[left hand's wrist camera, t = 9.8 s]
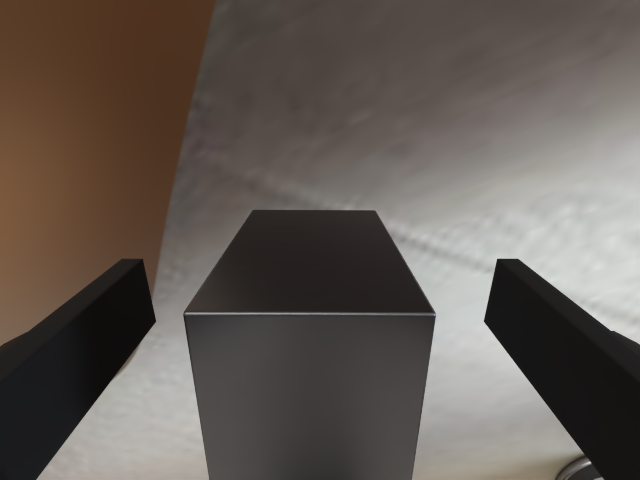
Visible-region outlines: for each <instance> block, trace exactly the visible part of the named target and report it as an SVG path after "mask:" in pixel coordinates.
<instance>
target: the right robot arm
mask: <svg viewBox="0 0 640 480" xmlns="http://www.w3.org/2000/svg"><path fill="white" fill-rule="evenodd" d="M557 480H604V479H603V478H602V476H601V475H600V474H599V473H598V471H597V470H596V469H595V467H594V466H593V465H592V463H591V462H590V461H589V459H588V458H587V457H584V458H581V459H579V460H577V461H575V462H574V463H572V464H570V465H569V466H568V467H567V468H565V469H564V470H563V471H562V472H561V474H560V475H559V476H558V478H557Z"/></svg>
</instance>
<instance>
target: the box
mask: <svg viewBox="0 0 640 480" xmlns="http://www.w3.org/2000/svg"><path fill="white" fill-rule="evenodd" d="M183 316H184V322H185V328H186V335H187V341H188V347H189V354H190V360H191V366H192V373H193V379H194V385H195V392H196V398H197V404H198V410H199V417H200V423H201V429H202V436H203V442H204V448H205V455H206V461H207V467H208V474H209V480H412V474H413V467H414V460H415V454H416V447H417V440H418V433H419V426H420V420H421V413H422V406H423V399H424V392H425V386H426V379H427V372H428V365H429V359H430V352H431V345H432V338H433V331H434V325H435V318H436V313H435V311H434V310H433V308H432V306H431V304H430V303H429V301H428V299H427V298H426V296H425V294H424V293H423V291H422V289H421V287H420V286H419V284H418V282H417V281H416V279H415V277H414V276H413V274H412V272H411V270H410V269H409V267H408V265H407V264H406V262H405V260H404V259H403V257H402V255H401V253H400V252H399V250H398V248H397V247H396V245H395V243H394V241H393V240H392V238H391V236H390V235H389V233H388V231H387V230H386V228H385V226H384V224H383V223H382V221H381V219H380V218H379V216H378V214H377V213H376V211H367V210H253V211H252V212H251V214H250V215H249V217H248V218H247V220H246V221H245V223H244V224H243V225H242V227H241V228H240V230H239V231H238V233H237V234H236V236H235V237H234V239H233V240H232V242H231V243H230V245H229V246H228V248H227V249H226V251H225V252H224V254H223V255H222V257H221V258H220V259H219V261H218V262H217V264H216V265H215V267H214V268H213V270H212V271H211V273H210V274H209V276H208V277H207V279H206V280H205V282H204V283H203V285H202V286H201V288H200V289H199V291H198V292H197V293H196V295H195V296H194V298H193V299H192V301H191V302H190V304H189V305H188V307H187V308H186V310H185V311H184V314H183Z"/></svg>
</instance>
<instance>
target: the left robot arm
mask: <svg viewBox="0 0 640 480" xmlns="http://www.w3.org/2000/svg"><path fill="white" fill-rule="evenodd" d="M155 322H156V319H155V314H154V309H153V305H152V300H151V295H150V291H149V286H148V281H147V277H146V272H145V267H144V263H143V259H121V260H120V261H119V262H117V263H116V264H115V265H114V266H112V267H111V268H110V269H108V270H107V271H106V272H104V273H103V274H102V275H101V276H99V277H98V278H97V279H96V280H94V281H93V282H92V283H90V284H89V285H88V286H86V287H85V288H84V289H83V290H81V291H80V292H79V293H77V294H76V295H75V296H74V297H72V298H71V299H70V300H68V301H67V302H66V303H65V304H63V305H62V306H61V307H59V308H58V309H57V310H55V311H54V312H53V313H52V314H50V315H49V316H48V317H46V318H45V319H44V320H43V321H41V322H40V323H39V324H37V325H36V326H35V327H34V328H32V329H31V330H30V331H29V332H26V333H24V334H22V335H20V336H18V337H16V338H14V339H12V340H11V341H9V342H7V343H5V344H3V345H2V346H0V480H36V479H37V478H38V476H39V475H40V474H41V473H42V471H43V470H44V469H45V467H46V466H47V465H48V463H49V462H50V461H51V459H52V458H53V457H54V455H55V454H56V453H57V451H58V450H59V449H60V447H61V446H62V445H63V444H64V442H65V441H66V440H67V438H68V437H69V436H70V434H71V433H72V432H73V430H74V429H75V428H76V426H77V425H78V424H79V422H80V421H81V420H82V418H83V417H84V416H85V415H86V413H87V412H88V411H89V409H90V408H91V407H92V405H93V404H94V403H95V401H96V400H97V399H98V397H99V396H100V395H101V393H102V392H103V391H104V389H105V388H106V387H107V386H108V384H109V383H110V382H111V380H112V379H113V378H114V376H115V375H116V374H117V372H118V371H119V370H120V368H121V367H122V366H123V364H124V363H125V362H126V360H127V359H128V358H129V356H130V355H131V354H132V353H133V351H134V350H135V349H136V347H137V346H138V345H139V343H140V342H141V341H142V339H143V338H144V337H145V335H146V334H147V333H148V331H149V330H150V329H151V327H152V326H153V325H154V324H155ZM484 322H485V324H486V325H487V326H488V327H489V329H490V330H491V331H492V333H493V334H494V335H495V337H496V338H497V339H498V341H499V342H500V343H501V345H502V346H503V347H504V349H505V350H506V351H507V353H508V354H509V355H510V356H511V358H512V359H513V360H514V362H515V363H516V364H517V366H518V367H519V368H520V370H521V371H522V372H523V374H524V375H525V376H526V378H527V379H528V380H529V382H530V383H531V384H532V386H533V387H534V388H535V389H536V391H537V392H538V393H539V395H540V396H541V397H542V399H543V400H544V401H545V403H546V404H547V405H548V407H549V408H550V409H551V411H552V412H553V413H554V415H555V416H556V417H557V418H558V420H559V421H560V422H561V424H562V425H563V426H564V428H565V429H566V430H567V432H568V433H569V434H570V436H571V437H572V438H573V440H574V441H575V442H576V444H577V445H578V446H579V447H580V449H581V450H582V451H583V453H584V454H585V455H586V457H587V458H588V459H589V461H590V462H591V463H592V465H593V466H594V467H595V469H596V470H597V471H598V473H599V474H600V475H601V476H602V478H603V479H604V480H640V345H639V344H638V343H636V342H634V341H632V340H630V339H628V338H627V337H625V336H623V335H621V334H619V333H617V332H615V331H610V330H609V329H608V328H606V327H605V326H604V325H603V324H601V323H600V322H599V321H597V320H596V319H595V318H594V317H592V316H591V315H590V314H588V313H587V312H586V311H585V310H583V309H582V308H581V307H579V306H578V305H577V304H576V303H574V302H573V301H572V300H570V299H569V298H568V297H566V296H565V295H564V294H563V293H561V292H560V291H559V290H557V289H556V288H555V287H554V286H552V285H551V284H550V283H548V282H547V281H546V280H545V279H543V278H542V277H541V276H539V275H538V274H537V273H536V272H534V271H533V270H532V269H530V268H529V267H528V266H527V265H525V264H524V263H523V262H521V261H520V260H519V259H497V263H496V267H495V272H494V277H493V281H492V286H491V291H490V295H489V300H488V305H487V309H486V314H485V319H484Z"/></svg>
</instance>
